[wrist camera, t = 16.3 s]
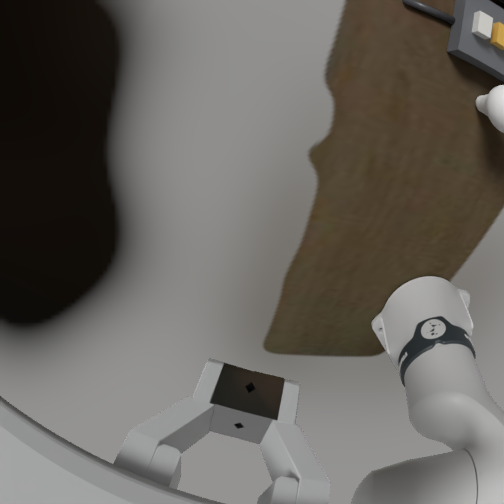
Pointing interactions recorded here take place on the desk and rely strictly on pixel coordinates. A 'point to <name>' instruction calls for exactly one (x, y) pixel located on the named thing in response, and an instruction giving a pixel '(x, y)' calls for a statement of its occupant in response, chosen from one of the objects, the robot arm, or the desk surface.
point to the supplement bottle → (499, 3)
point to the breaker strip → (474, 33)
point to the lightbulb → (493, 106)
